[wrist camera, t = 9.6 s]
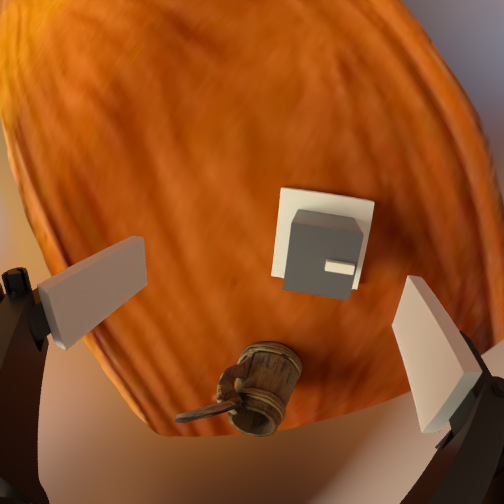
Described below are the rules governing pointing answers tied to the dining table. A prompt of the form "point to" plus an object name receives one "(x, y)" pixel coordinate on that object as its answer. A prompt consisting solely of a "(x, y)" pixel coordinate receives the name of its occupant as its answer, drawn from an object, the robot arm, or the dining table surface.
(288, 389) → the wooden mug
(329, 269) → the grey rectangular block
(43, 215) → the dining table surface
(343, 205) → the white peg base
